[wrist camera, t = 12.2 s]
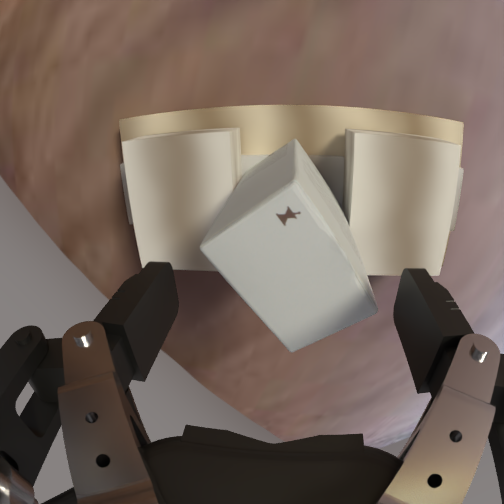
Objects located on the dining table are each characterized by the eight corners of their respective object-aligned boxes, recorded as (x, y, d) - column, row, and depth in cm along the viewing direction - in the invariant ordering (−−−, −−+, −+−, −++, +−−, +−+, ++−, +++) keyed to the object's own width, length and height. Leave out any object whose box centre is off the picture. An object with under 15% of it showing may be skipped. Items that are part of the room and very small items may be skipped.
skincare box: (244, 171, 21) (191, 244, 11) (295, 136, 20) (297, 173, 9) (294, 238, 23) (289, 357, 12) (343, 208, 22) (384, 312, 11)
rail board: (146, 251, 28) (118, 283, 23) (128, 118, 22) (88, 125, 17) (436, 258, 24) (461, 293, 19) (454, 120, 19) (492, 128, 14)
